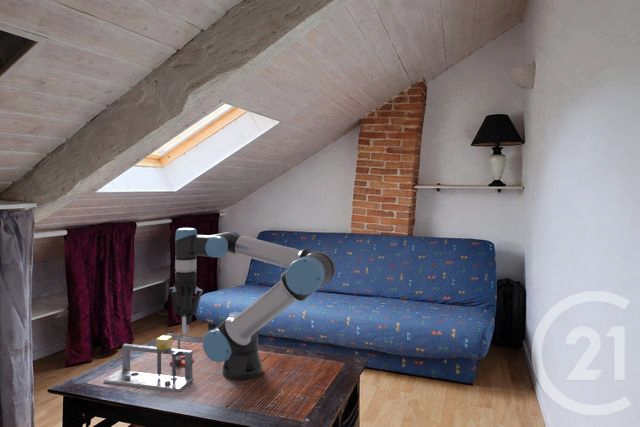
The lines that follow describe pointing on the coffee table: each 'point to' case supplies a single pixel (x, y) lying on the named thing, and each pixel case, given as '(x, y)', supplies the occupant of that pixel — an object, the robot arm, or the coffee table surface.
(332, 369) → the coffee table surface
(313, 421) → the coffee table surface
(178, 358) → the tow hook
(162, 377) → the flange plate
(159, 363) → the slider block
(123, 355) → the dividers beam
